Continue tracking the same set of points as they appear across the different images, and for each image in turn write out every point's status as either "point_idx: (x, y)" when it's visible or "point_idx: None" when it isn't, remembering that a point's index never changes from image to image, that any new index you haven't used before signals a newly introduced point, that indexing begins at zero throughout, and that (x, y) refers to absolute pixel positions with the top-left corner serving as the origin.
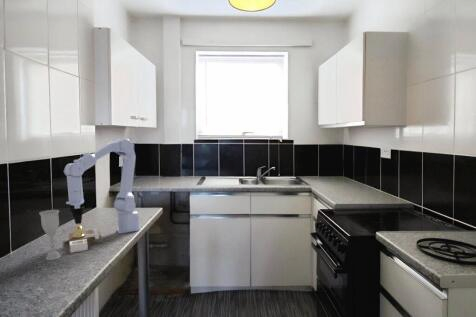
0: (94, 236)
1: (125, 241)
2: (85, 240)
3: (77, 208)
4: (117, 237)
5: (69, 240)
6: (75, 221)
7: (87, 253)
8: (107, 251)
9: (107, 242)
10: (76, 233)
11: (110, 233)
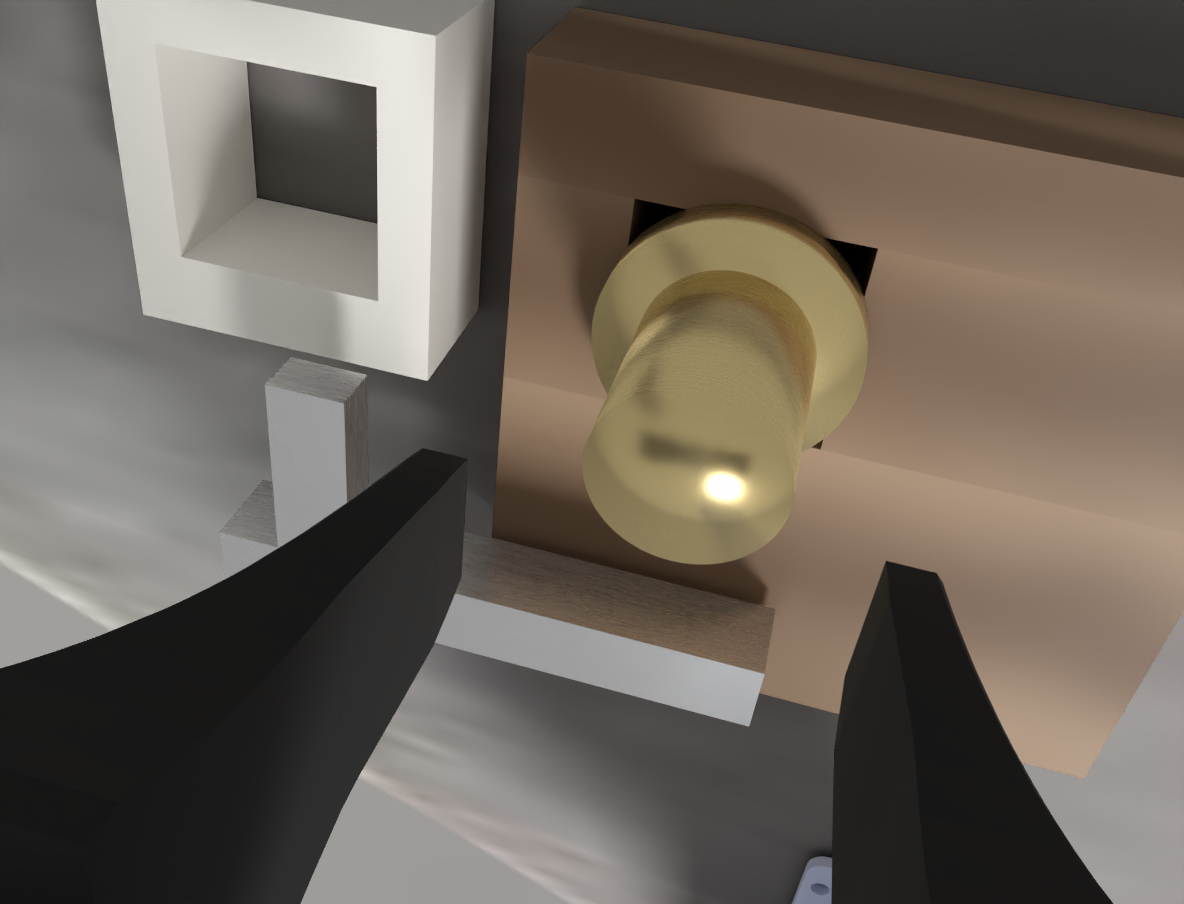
0: None
1: None
2: (309, 332)
3: None
4: (636, 761)
5: (545, 59)
6: (368, 495)
7: (18, 188)
8: (2, 429)
9: None
10: (661, 314)
11: None
